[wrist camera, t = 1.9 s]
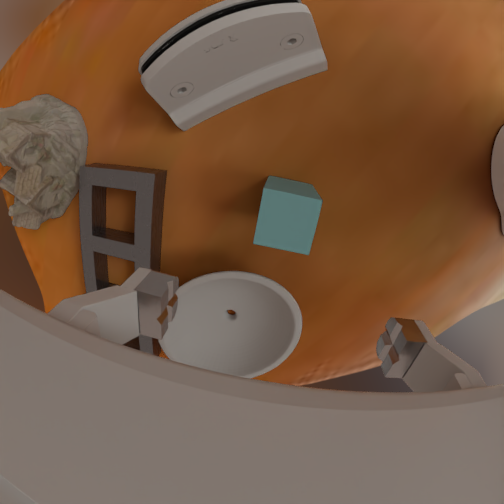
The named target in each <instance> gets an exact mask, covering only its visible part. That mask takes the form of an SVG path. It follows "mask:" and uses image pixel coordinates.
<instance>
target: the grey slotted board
mask: <svg viewBox="0 0 504 504" xmlns="http://www.w3.org/2000/svg"><path fill="white" fill-rule="evenodd" d="M166 174H167V170H159V169H151V168H142V167H133V166H123V165H112V164H101V163H93V164H88V165H83V166H80V175H79V216H80V237H81V250H82V261H83V270H84V279H85V286H86V293H90V292H93V291H97V290H101V289H105V288H108V287H112V286H116V284H112V283H109V280H108V267H107V255H110V256H114V257H118V258H122V259H126V260H130V261H134V262H135V271H136V270H137V269H138V268H139V267H142V268H147V269H151V270H154V271H158V272H160V260H161V237H162V220H163V206H164V194H165V184H166ZM106 187H110V188H118V189H125V190H132V191H136V205H135V234H134V233H129V232H124V231H120V230H115V229H110V228H106ZM118 286H119V285H118ZM122 345H125V346H128V347H130V348H133V349H136V350H140V351H143V352H146V353H149V354H152V355H155V356H159V354H160V353H161V346H160V343H159V340H158V339H156V338H152V337H149V336H145V335H141V334H140V335H139V336H137V337H135V338H133V339H132V340H130V341H128V342H126V343H124V344H122Z"/></svg>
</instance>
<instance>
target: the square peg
mask: <svg viewBox="0 0 504 504" xmlns="http://www.w3.org/2000/svg"><path fill="white" fill-rule="evenodd" d="M322 202H323V200H322V199H321V197H320V196H319V194H318V193H317V191H316V190H315V188H314V187H313V185H312V184H308V183H303V182H299V181H294V180H289V179H285V178H280V177H275V176H270V175H269V177H268V179H267V181H266V184H265V186H264V189H263V194H262V199H261V205H260V210H259V215H258V220H257V226H256V231H255V236H254V242H253V244H257V245H262V246H267V247H272V248H277V249H281V250H286V251H291V252H296V253H301V254H306V255H309V252H310V249H311V245H312V241H313V237H314V234H315V230H316V226H317V222H318V218H319V214H320V210H321V206H322Z"/></svg>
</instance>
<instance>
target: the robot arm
mask: <svg viewBox="0 0 504 504" xmlns="http://www.w3.org/2000/svg"><path fill="white" fill-rule="evenodd" d="M491 177H492V186H493V192H494V196H495V200H496V203H497V205H498V208H499V210H500V213H501V221H502V232H503V235H504V125H503V126H502V128H501V129H500V131H499V133H498V135H497V137H496V140H495V143H494V147H493V153H492V162H491ZM178 288H179V279H178V276H174V275H170V274H166V273H162V272H158V271H154V270H151V269H147V268H142V267H139V268H138V269H137V270H136V271H135V272H134V273H133V274H132V275H131V276H130V277H129V278H128V279H127V280H126V281H125V282H124V283H123V284H122V285H121V286H118V285H116V286H112V287H108V288H105V289H101V290H97V291H93V292H90V293H86V294H82V295H79V296H75V297H71V298H67V299H64V300H62V301H61V302H60V303H59V304H58V305H56V306H55V307H54V308H53V309H52V310H51V311H50V312H49V313H48V314H47V313H44V312H42V311H40V310H38V309H36V308H34V307H32V306H30V305H28V304H26V303H24V302H22V301H21V300H19V299H17V298H15V297H13V296H12V295H10V294H8V293H6V292H4V291H3V290H1V289H0V504H504V384H500V385H494V386H486V384H485V382H484V381H483V379H482V377H481V375H480V374H479V372H478V371H477V370H475V369H474V368H473V367H471V366H470V365H469V364H467V363H466V362H465V361H463V360H462V359H460V358H459V357H457V356H456V355H455V354H454V353H452V352H451V351H449V350H448V349H447V348H445V347H444V346H442V345H441V344H438V343H437V342H436V340H435V339H434V337H433V335H432V334H431V332H430V331H429V329H428V328H427V326H426V325H425V323H424V322H423V321H421V320H412V319H402V318H392V317H391V318H390V319H389V320H388V322H387V324H386V325H385V327H386V331H385V332H384V333H383V334H381V335H380V338H379V340H378V342H377V347H376V351H377V356H378V358H379V359H380V360H382V361H383V362H382V364H381V367H382V370H383V373H384V375H385V377H391V378H403V380H404V382H405V383H406V384H407V385H408V386H409V387H410V388H411V389H412V390H413V392H401V393H397V392H358V391H342V390H330V389H319V388H310V387H302V386H294V385H286V384H280V383H273V382H267V381H261V380H255V379H250V378H244V377H239V376H234V375H229V374H225V373H220V372H216V371H211V370H207V369H203V368H199V367H195V366H191V365H187V364H183V363H180V362H176V361H172V360H169V359H165V358H162V357H159V356H155V355H152V354H149V353H146V352H143V351H140V350H136V349H133V348H130V347H128V346H125V345H122V344H124V343H126V342H128V341H130V340H132V339H133V338H135V337H137V336H139V335H140V334H141V335H145V336H149V337H152V338H156V339H160V340H162V338H163V336H164V335H165V333H166V331H167V329H168V323H169V322H172V321H173V319H174V317H175V314H176V311H177V305H178V297H177V295H176V293H175V292H176V291H177V289H178Z"/></svg>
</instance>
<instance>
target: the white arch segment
mask: <svg viewBox="0 0 504 504" xmlns="http://www.w3.org/2000/svg"><path fill="white" fill-rule="evenodd" d="M138 70H139V73H140V74H141V83H142V84H143V86H144V88H145V89H146V91H147V92H148V93H149V94H150V95H151V96H152V97H153V98H154V100H155V101H156V102H157V103H158V104H159V105H160V106H161V107H162V108H163V109H164V110H165V111H166V112H167V113H168V115H169V116H170V117H171V119H172V120H173V121H174V123H175V124H176V126H177V127H179V128H180V129H182V130H183V131H186V130H188V129H189V128H191V127H193V126H195V125H197V124H199V123H201V122H203V121H204V120H206V119H208V118H210V117H212V116H214V115H216V114H218V113H220V112H222V111H225V110H227V109H229V108H231V107H233V106H235V105H237V104H240V103H242V102H244V101H246V100H248V99H251V98H253V97H255V96H258V95H260V94H263V93H265V92H267V91H270V90H272V89H275V88H277V87H280V86H283V85H285V84H288V83H291V82H293V81H296V80H299V79H302V78H305V77H307V76H310V75H313V74H317V73H320V72H323V71H326V70H327V60H326V57H325V54H324V52H323V49H322V46H321V43H320V39H319V36H318V33H317V30H316V27H315V23H314V20H313V17H312V15H311V13H310V11H309V9H308V7H307V6H306V5H304V4H302V3H301V0H225V1H222V2H219V3H217V4H214V5H212V6H209V7H207V8H205V9H203V10H201V11H199V12H197V13H195V14H193V15H191V16H189V17H188V18H186V19H184V20H183V21H181V22H180V23H178V24H177V25H175V26H174V27H172V28H171V29H170V30H168V31H167V32H166V33H165V34H163V35H162V36H161V37H160V38H159V39H158V40H156V41H155V42H154V43H153V44H152V45H151V46H150V47H149V48H148V49H147V51H146V52H145V53H144V54H143V55H142V56H141V58H140V60H139V69H138Z"/></svg>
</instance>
